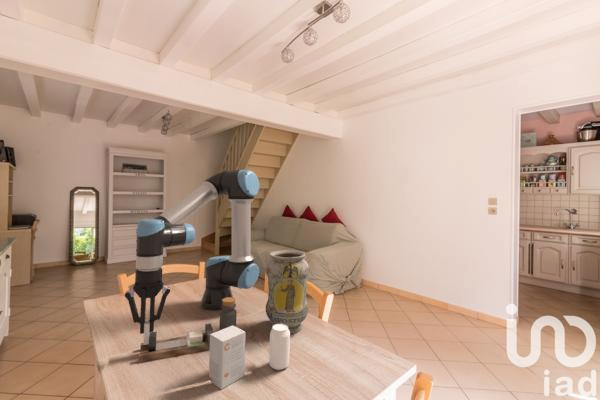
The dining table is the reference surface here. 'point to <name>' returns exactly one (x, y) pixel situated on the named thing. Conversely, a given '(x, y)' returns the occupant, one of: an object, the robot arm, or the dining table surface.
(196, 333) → the cream cube
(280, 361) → the beverage can
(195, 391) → the dining table surface
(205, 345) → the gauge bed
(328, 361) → the dining table surface
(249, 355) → the dining table surface
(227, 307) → the bottle
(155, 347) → the grey sliding carriage
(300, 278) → the vase
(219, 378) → the small box
